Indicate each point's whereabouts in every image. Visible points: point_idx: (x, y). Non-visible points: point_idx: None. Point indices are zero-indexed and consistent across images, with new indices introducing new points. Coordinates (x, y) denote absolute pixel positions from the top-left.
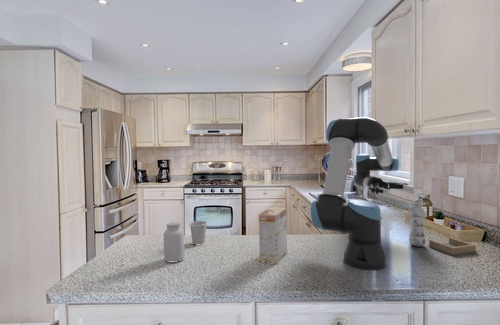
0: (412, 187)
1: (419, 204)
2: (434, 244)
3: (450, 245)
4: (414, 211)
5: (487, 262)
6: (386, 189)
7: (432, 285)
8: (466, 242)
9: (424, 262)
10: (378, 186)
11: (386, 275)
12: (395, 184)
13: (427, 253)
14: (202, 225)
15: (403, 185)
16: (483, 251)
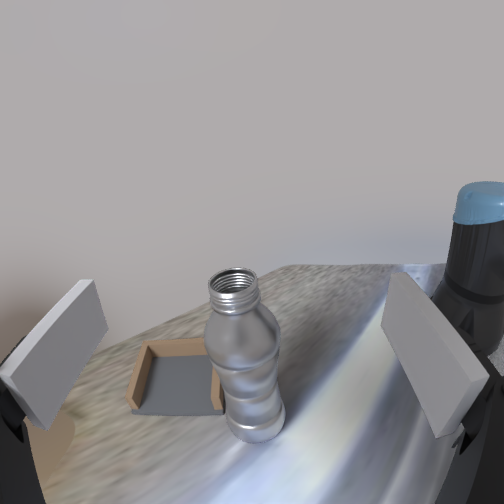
0: (92, 288)
1: (242, 277)
2: (221, 386)
3: (157, 394)
4: (270, 312)
5: (194, 316)
6: (412, 286)
7: (372, 268)
8: (137, 358)
9: (332, 326)
10: (483, 473)
11: (430, 287)
12: (3, 486)
13: (280, 369)
14: None
15: (19, 380)
16: (125, 355)
